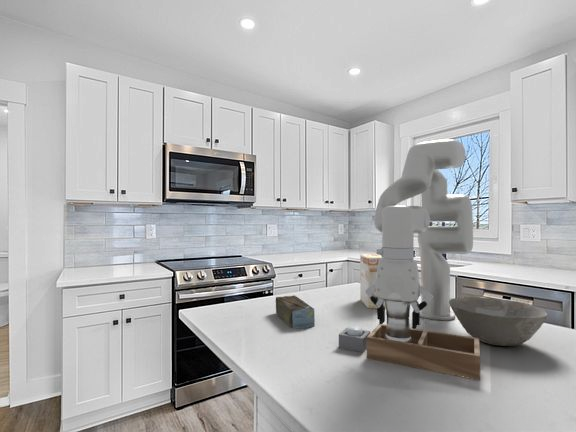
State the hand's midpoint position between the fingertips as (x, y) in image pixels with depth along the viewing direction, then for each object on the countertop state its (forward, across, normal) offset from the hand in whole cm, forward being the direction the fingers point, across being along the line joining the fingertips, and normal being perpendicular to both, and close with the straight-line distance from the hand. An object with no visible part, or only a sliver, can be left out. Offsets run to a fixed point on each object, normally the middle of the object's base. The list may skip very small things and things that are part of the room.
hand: (398, 324), depth 84 cm
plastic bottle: (+8, 0, 0) cm, 8 cm away
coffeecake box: (+8, -19, +48) cm, 52 cm away
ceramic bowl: (+8, +22, +22) cm, 32 cm away
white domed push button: (+5, -11, 0) cm, 12 cm away
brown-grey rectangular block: (+8, -37, +14) cm, 40 cm away
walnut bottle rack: (+7, +6, 0) cm, 9 cm away
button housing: (+7, -11, 0) cm, 13 cm away
